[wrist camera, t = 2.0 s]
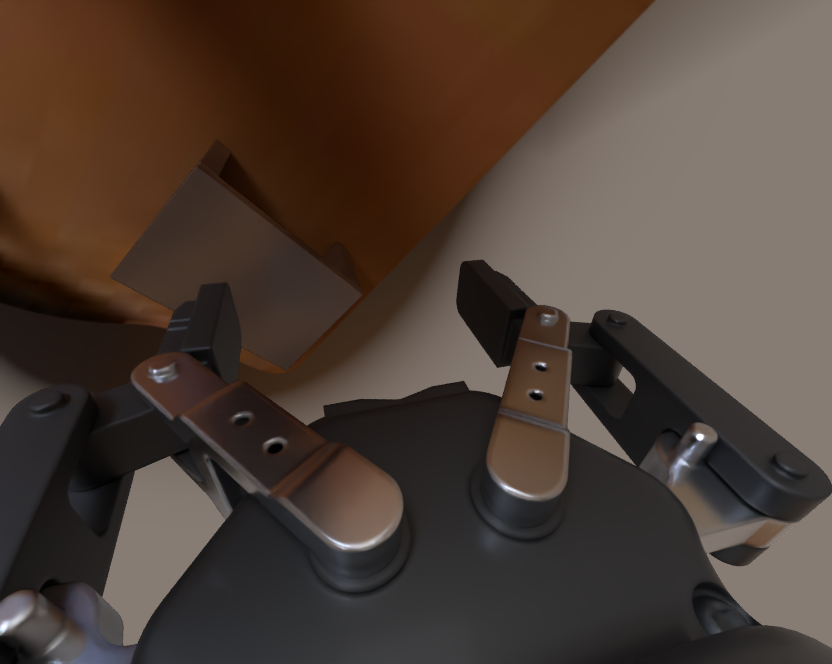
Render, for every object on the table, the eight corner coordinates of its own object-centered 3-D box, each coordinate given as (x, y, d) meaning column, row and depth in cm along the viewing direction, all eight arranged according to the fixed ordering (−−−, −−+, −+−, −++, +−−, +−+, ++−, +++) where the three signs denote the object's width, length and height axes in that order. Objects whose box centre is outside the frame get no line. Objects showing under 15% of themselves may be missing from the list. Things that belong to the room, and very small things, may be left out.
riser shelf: (148, 226, 30) (108, 277, 23) (216, 139, 28) (196, 165, 21) (285, 313, 38) (287, 371, 31) (347, 248, 36) (363, 295, 29)
